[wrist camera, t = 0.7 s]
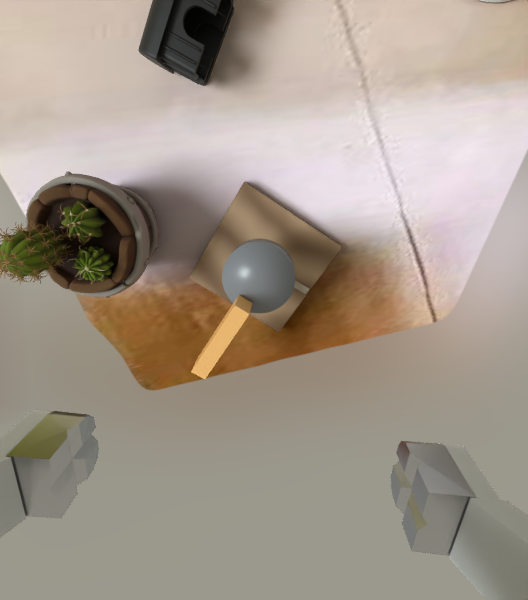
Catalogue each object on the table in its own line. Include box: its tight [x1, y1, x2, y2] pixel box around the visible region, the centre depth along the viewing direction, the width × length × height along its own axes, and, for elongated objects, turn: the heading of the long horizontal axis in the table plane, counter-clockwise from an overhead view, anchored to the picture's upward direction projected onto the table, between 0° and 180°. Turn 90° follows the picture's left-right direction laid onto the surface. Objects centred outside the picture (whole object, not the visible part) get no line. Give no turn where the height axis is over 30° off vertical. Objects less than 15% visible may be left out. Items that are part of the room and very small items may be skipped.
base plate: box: [189, 182, 342, 332], centre depth 49 cm, size 16×16×2 cm
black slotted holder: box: [139, 0, 234, 86], centre depth 38 cm, size 10×7×7 cm
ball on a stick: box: [191, 239, 295, 379], centre depth 43 cm, size 18×9×6 cm, turn 148°
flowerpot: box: [0, 172, 158, 298], centre depth 41 cm, size 14×15×20 cm
